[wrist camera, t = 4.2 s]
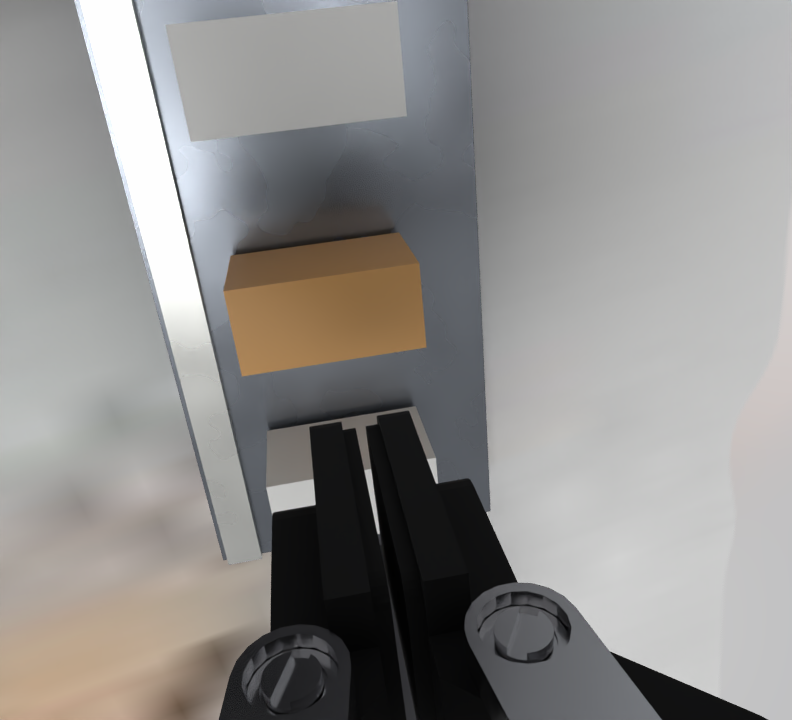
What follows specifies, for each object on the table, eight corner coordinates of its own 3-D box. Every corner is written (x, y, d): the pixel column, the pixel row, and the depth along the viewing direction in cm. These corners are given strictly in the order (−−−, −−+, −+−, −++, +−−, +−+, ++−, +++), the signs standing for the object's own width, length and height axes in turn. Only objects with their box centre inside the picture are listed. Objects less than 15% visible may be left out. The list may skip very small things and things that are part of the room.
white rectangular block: (267, 430, 23) (265, 487, 20) (415, 406, 23) (435, 457, 20) (279, 490, 24) (280, 552, 21) (421, 465, 24) (441, 522, 21)
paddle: (183, 28, 17) (165, 24, 14) (377, 7, 18) (396, 1, 15) (203, 126, 18) (190, 142, 15) (386, 105, 19) (406, 116, 16)
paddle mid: (230, 255, 20) (223, 291, 17) (399, 232, 20) (419, 263, 18) (246, 330, 21) (241, 376, 18) (406, 306, 21) (426, 347, 19)
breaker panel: (80, -74, 19) (46, -95, 16) (437, -105, 20) (464, -129, 17) (228, 512, 27) (222, 565, 24) (471, 469, 28) (492, 515, 26)
